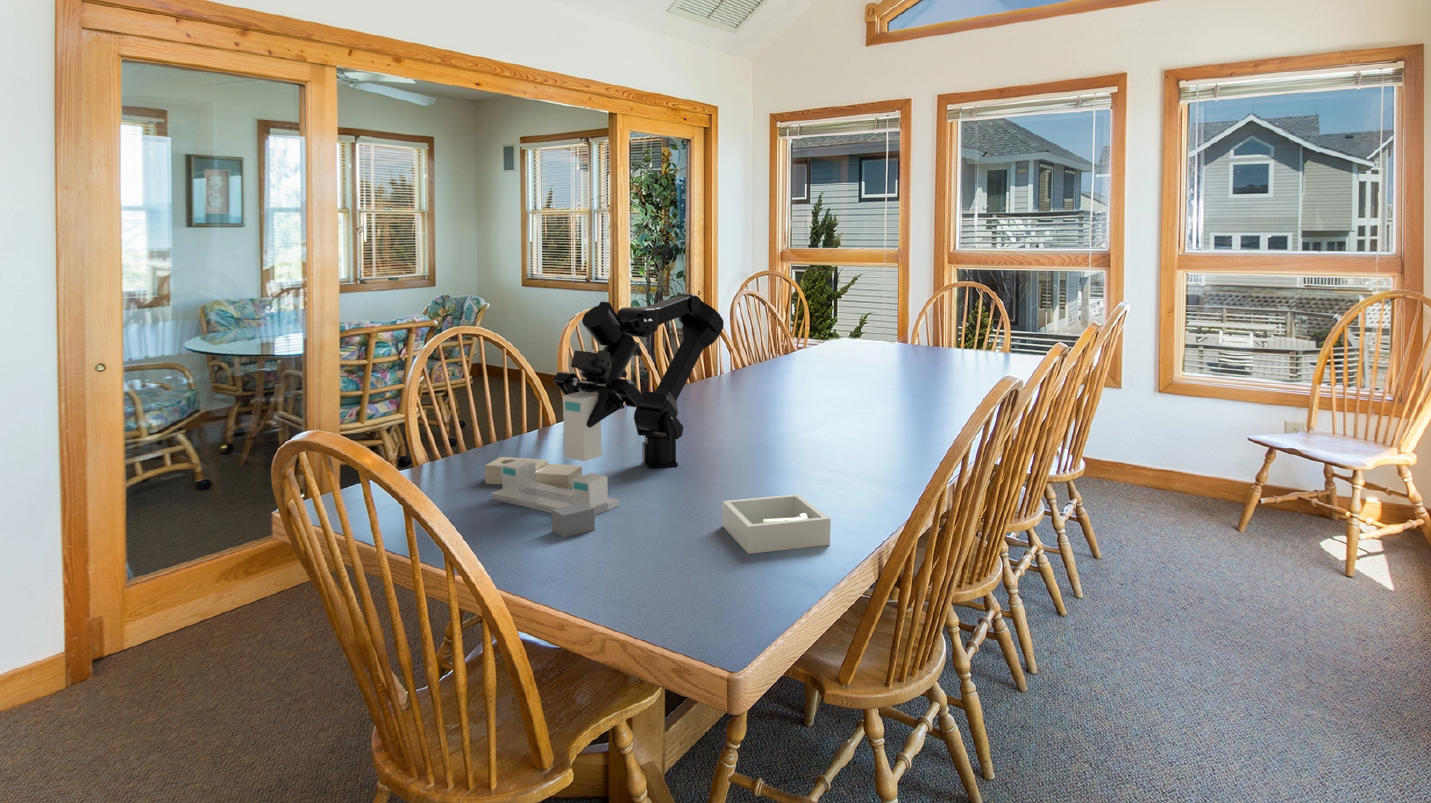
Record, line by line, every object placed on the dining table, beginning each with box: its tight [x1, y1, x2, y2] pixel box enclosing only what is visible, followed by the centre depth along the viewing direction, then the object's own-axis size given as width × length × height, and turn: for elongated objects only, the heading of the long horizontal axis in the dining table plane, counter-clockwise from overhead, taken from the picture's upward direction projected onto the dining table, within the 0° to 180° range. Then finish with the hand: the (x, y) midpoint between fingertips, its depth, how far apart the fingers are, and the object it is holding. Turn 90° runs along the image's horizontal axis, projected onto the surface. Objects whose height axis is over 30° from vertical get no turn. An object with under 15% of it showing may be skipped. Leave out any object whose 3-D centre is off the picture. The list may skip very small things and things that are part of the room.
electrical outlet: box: [484, 456, 583, 489], centre depth 184 cm, size 7×4×18 cm
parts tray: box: [722, 493, 832, 555], centre depth 153 cm, size 14×14×4 cm
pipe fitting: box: [763, 513, 811, 523], centre depth 152 cm, size 8×4×7 cm
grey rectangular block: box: [550, 503, 596, 538], centre depth 155 cm, size 6×4×4 cm, turn 128°
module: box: [562, 391, 603, 462], centre depth 175 cm, size 5×5×12 cm
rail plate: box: [490, 459, 620, 516], centre depth 170 cm, size 10×23×6 cm, turn 56°
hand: (577, 424), depth 174 cm, fingers closed on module, 5 cm apart
